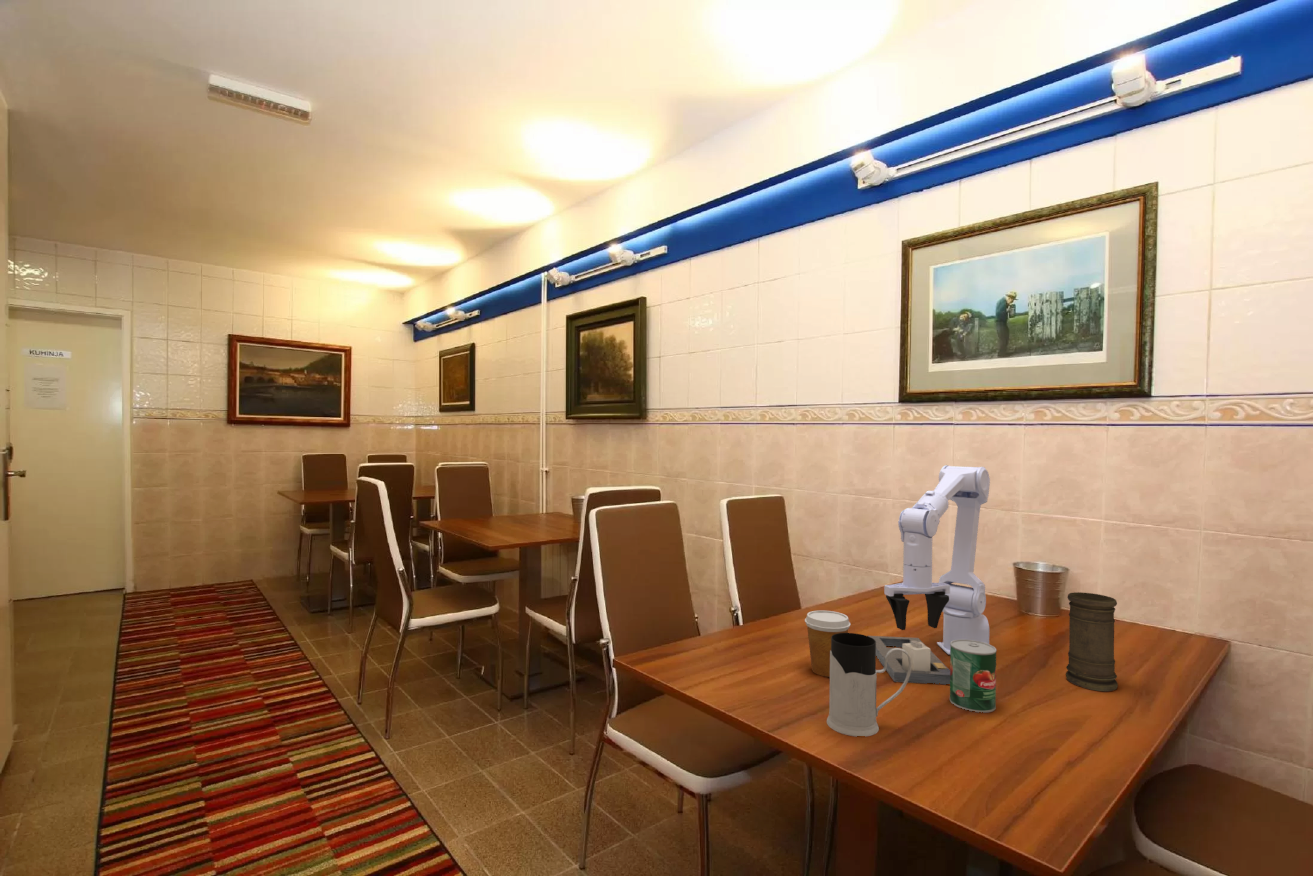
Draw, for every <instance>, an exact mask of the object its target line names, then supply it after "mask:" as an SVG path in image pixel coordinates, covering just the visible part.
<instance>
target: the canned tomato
mask: <svg viewBox="0 0 1313 876" xmlns="http://www.w3.org/2000/svg"><path fill="white" fill-rule="evenodd" d="M950 645H951V650H950V654H951V655H949V656H950V658H949V659H950V660H949V662H950V663H949V670H950V685H949V701H950V703H951V704H952V705H953V704H954V705H953V706H955V707H956V708H959V709H961V708H962V709H961V710H964V709H965V710H964V711H967V710H969V711H968V712H972V711H975V712H974V713H979V712H981V714H982V712H983V714H986V713H992V712H994V711H995V710H996V709H997V707H996V703H997V701H996V700H997V696H996V695H997V693H996V691H997V648H996V647H995V646H994V645H992V644H990V643H989V644H987V643H984V642H980V641H974V640H954V641H952V642H951V643H950Z"/></svg>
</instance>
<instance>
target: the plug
mask: <svg viewBox="0 0 1313 876" xmlns="http://www.w3.org/2000/svg"><path fill="white" fill-rule="evenodd" d="M926 646H927V645H926ZM926 646H924V645H923V644H921V643H919V642H917V641H916V640H914V641H910V643H904V644H902V647H901V648H902V649H903V650H905V651H906V652H907V653H908V654H909V656H910V658H911V670H912V671H930V651H932V650H931V648H930V647H928V646H927V647H926ZM908 666H909V661H908V657H907V655H906V654H905V653H904V652H902V667H903V669H904V670H908Z"/></svg>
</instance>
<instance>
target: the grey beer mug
mask: <svg viewBox="0 0 1313 876" xmlns="http://www.w3.org/2000/svg"><path fill="white" fill-rule="evenodd" d="M869 636H870V635H865V634H860V633H853V632H848V633H838V634H834V635H832V637H831V651H830V677H829V700H828V701H829V703H828V704H829V710H828V711H829V712H828V716H827V718H826V724H827V726H828V727H829V728H831V730H833V731H834V732H837V733H839V734H842V735H846V736H851V737H857V736H865V737H870V736H871V737H872V736H873V735H876V734H877V733H878V732H879V730H880V729H879V728H880V727H879V725H878V723H877V721H878V720H877V717H878V714H879V712H880V710H881V709H882V708H884V707H885V706H886V705H888V704H889V703H890V702H892V701H893V700H894V699H895V698H896V697H898V696H899V695H900V694H901V693H902V692H903V691H904V689H905V688H906V686H907V684H908V683H907V682H908V680H909V677H910V673H911V658H910V656H909V654H908V653H907V652H906V651H905V650H903V649H900V648H901V647H893V648H894V649H891V650H890V651H888V653H887V654H886V656H885V660H884V667H883V668H882V669H877V668H876V667H877V666H876V663H877V661H876V659H877V657H876V641H875V640H874V639H873V638H871V637H869ZM894 651H902V652H904V653H905V654H906V655H907V657H908V661H909V666H908V673H907V676H906V679H905V681H904V682H902V684H901V686H900V687H899V689H898V690H897V691H895V693H894V694H892V695H891V696H890V697H889V698H887V699H886V700H884V701H883V702H882V703H880V704H879V705H878V706H877V674H882V673H884V672H885V671H886V668H887V660H888V657H889V655H890V654H891V653H892V652H894ZM886 672H887V671H886Z"/></svg>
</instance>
